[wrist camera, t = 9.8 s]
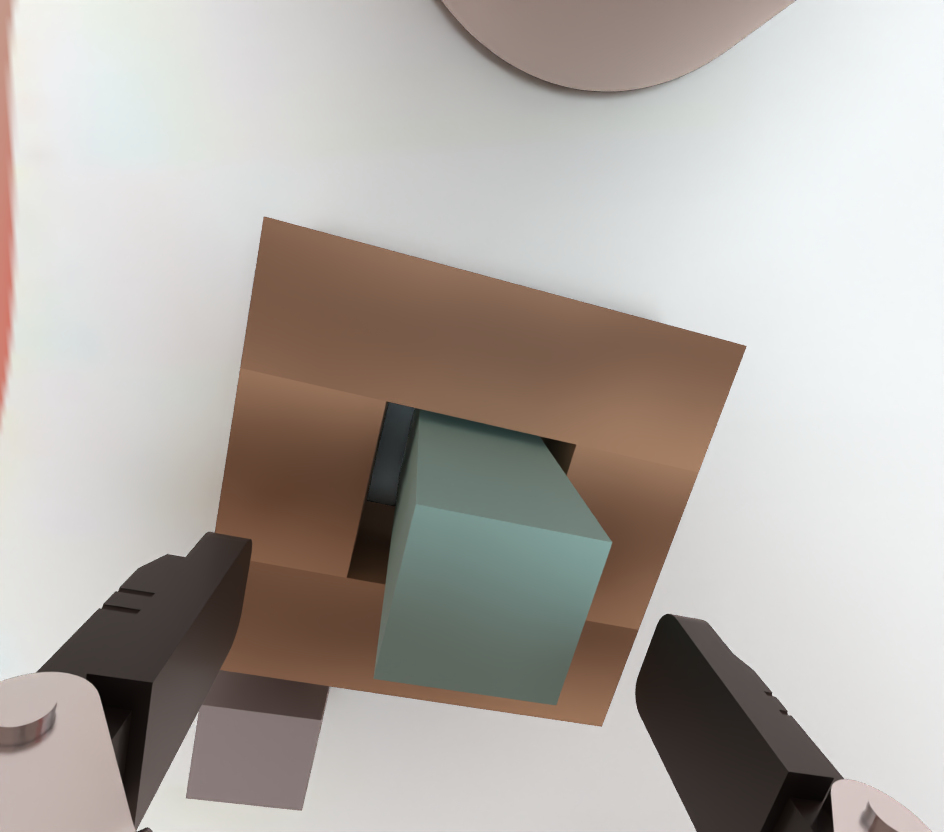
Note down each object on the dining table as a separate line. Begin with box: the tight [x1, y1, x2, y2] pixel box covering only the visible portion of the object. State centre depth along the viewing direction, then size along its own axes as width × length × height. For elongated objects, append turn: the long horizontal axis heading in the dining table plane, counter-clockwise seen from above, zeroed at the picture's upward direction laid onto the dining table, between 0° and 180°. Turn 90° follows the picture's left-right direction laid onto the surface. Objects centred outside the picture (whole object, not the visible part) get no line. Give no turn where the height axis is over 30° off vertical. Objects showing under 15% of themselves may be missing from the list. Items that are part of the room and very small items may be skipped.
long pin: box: [373, 408, 612, 705], centre depth 14 cm, size 3×3×10 cm
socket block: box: [215, 217, 746, 727], centre depth 17 cm, size 12×12×5 cm
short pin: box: [186, 670, 330, 811], centre depth 18 cm, size 3×3×5 cm
